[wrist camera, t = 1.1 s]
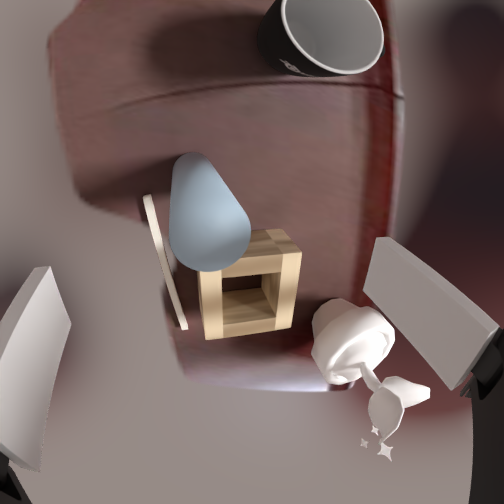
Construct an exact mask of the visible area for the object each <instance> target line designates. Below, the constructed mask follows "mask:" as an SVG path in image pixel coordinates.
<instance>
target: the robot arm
mask: <svg viewBox="0 0 504 504" xmlns="http://www.w3.org/2000/svg"><path fill="white" fill-rule="evenodd" d="M363 291H364V292H365V293H366V294H367V295H368V296H369V297H370V299H371V300H372V301H373V302H374V303H375V304H376V305H377V306H378V307H379V308H380V309H381V310H382V311H383V313H384V314H385V315H386V316H387V317H388V318H389V319H390V320H391V321H392V322H393V323H394V325H395V326H396V327H397V328H398V329H399V330H400V331H401V332H402V333H403V335H404V336H405V337H406V338H407V339H408V340H409V341H410V342H411V344H412V345H413V346H414V347H415V348H416V349H417V350H418V352H419V353H420V354H421V355H422V356H423V358H424V359H425V360H426V361H427V362H428V363H429V365H430V366H431V367H432V368H433V369H434V371H435V372H436V373H437V374H438V375H439V377H440V378H441V379H442V380H443V381H444V383H445V384H446V385H447V386H448V387H449V389H450V390H453V389H454V388H455V387H457V386H458V385H460V384H461V383H462V382H463V381H464V380H465V378H466V377H467V376H468V374H469V373H470V372H472V373H473V374H474V375H473V376H472V377H471V379H470V380H469V381H468V383H467V384H466V385H465V386H464V388H463V389H462V391H461V393H460V396H463V395H464V394H465V392H466V391H467V390H468V389H470V390H469V391H468V392H467V394H466V396H465V397H468V398H472V413H473V466H472V480H471V490H470V497H469V504H504V329H501V328H500V327H499V325H497V323H495V322H494V320H492V319H491V318H490V317H489V316H488V315H487V314H486V313H485V312H483V310H481V309H480V308H479V307H478V306H477V305H476V304H474V303H473V302H472V301H471V300H470V299H469V298H467V297H466V296H465V295H464V294H463V293H462V292H460V291H459V290H458V289H457V288H456V287H454V286H453V285H452V284H451V283H450V282H448V281H447V280H446V279H444V278H443V277H442V276H441V275H439V274H438V273H437V272H436V271H434V270H433V269H432V268H431V267H429V266H428V265H427V264H425V263H424V262H423V261H421V260H420V259H419V258H417V257H416V256H415V255H413V254H412V253H411V252H409V251H408V250H407V249H405V248H404V247H402V246H401V245H400V244H398V243H397V242H395V241H394V240H393V239H391V238H390V237H380V238H376V241H375V246H374V250H373V254H372V258H371V262H370V266H369V270H368V274H367V277H366V281H365V285H364V288H363ZM70 327H71V322H70V319H69V317H68V314H67V312H66V309H65V307H64V304H63V302H62V299H61V296H60V294H59V291H58V288H57V285H56V282H55V279H54V276H53V273H52V270H51V267H50V266H47V267H36V268H34V269H33V271H32V272H31V274H30V275H29V277H28V278H27V280H26V281H25V283H24V284H23V286H22V287H21V289H20V290H19V292H18V294H17V295H16V297H15V298H14V300H13V301H12V303H11V305H10V307H9V308H8V310H7V312H6V313H5V315H4V317H3V319H2V320H1V323H0V504H32V503H31V501H30V500H29V498H28V496H27V494H26V493H25V491H24V489H23V488H22V486H21V484H20V482H19V480H18V478H17V476H16V474H15V472H14V471H13V470H12V468H11V467H10V466H8V463H9V459H10V460H11V461H13V462H14V463H16V464H17V465H18V466H20V467H21V468H25V469H29V470H32V471H36V472H40V464H41V454H42V446H43V438H44V432H45V425H46V420H47V414H48V409H49V404H50V399H51V394H52V390H53V386H54V382H55V378H56V374H57V370H58V366H59V363H60V359H61V356H62V352H63V349H64V345H65V342H66V339H67V336H68V333H69V330H70Z"/></svg>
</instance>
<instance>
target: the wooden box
mask: <svg viewBox="0 0 504 504" xmlns="http://www.w3.org/2000/svg"><path fill="white" fill-rule="evenodd" d="M301 257H302V252H301V250H300V249H299V248H298V247H297V246H296V245H295V244H294V242H293V241H292V240H291V239H290V238H289V237H288V235H287V234H286V233H285V232H284V231H283V230H282V229H268V230H253V231H251V238H250V242H249V245H248V247H247V249H246V251H245V253H244V254H243V255H242V256H241V258H240V259H239V260H238V261H236V262H235V263H234V264H232V265H231V266H229V267H227V268H225V269H222V270H219V271H214V272H201V271H197V280H198V292H199V304H200V311H201V317H202V323H203V328H204V334H205V339H206V340H211V339H219V338H227V337H234V336H241V335H248V334H255V333H261V332H267V331H273V330H279V329H285V328H291V323H292V317H293V311H294V305H295V298H296V292H297V285H298V278H299V271H300V264H301ZM257 274H262V286H261V288H253V289H245V290H236V291H227V292H222V278H228V277H238V276H248V275H257Z"/></svg>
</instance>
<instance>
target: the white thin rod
mask: <svg viewBox="0 0 504 504" xmlns="http://www.w3.org/2000/svg"><path fill="white" fill-rule="evenodd" d="M143 201H144V205H145V209H146V213H147V217H148V221H149V225H150V229H151V233H152V236H153V240H154V244H155V247H156V251H157V254H158V258H159V261H160V264H161V268H162V271H163V274H164V277H165V281H166V284H167V287H168V290H169V293H170V296H171V299H172V302H173V305H174V308H175V311H176V314H177V317H178V320H179V322H180V325H181V328H182V330H186V329H188V325H187V322H186V319H185V316H184V312H183V309H182V306H181V303H180V300H179V297H178V294H177V290H176V287H175V284H174V280H173V277H172V274H171V270H170V267H169V263H168V260H167V256H166V252H165V249H164V245H163V241H162V237H161V234H160V230H159V226H158V222H157V218H156V213H155V209H154V205H153V201H152V196H151V194H149V195H145V196H143Z"/></svg>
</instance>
